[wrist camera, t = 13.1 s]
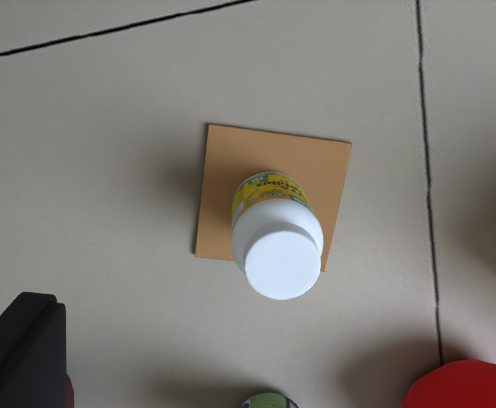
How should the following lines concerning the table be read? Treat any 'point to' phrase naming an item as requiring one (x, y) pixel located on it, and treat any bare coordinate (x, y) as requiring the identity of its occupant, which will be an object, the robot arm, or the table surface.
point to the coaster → (259, 161)
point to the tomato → (455, 387)
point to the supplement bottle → (275, 236)
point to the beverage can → (268, 401)
